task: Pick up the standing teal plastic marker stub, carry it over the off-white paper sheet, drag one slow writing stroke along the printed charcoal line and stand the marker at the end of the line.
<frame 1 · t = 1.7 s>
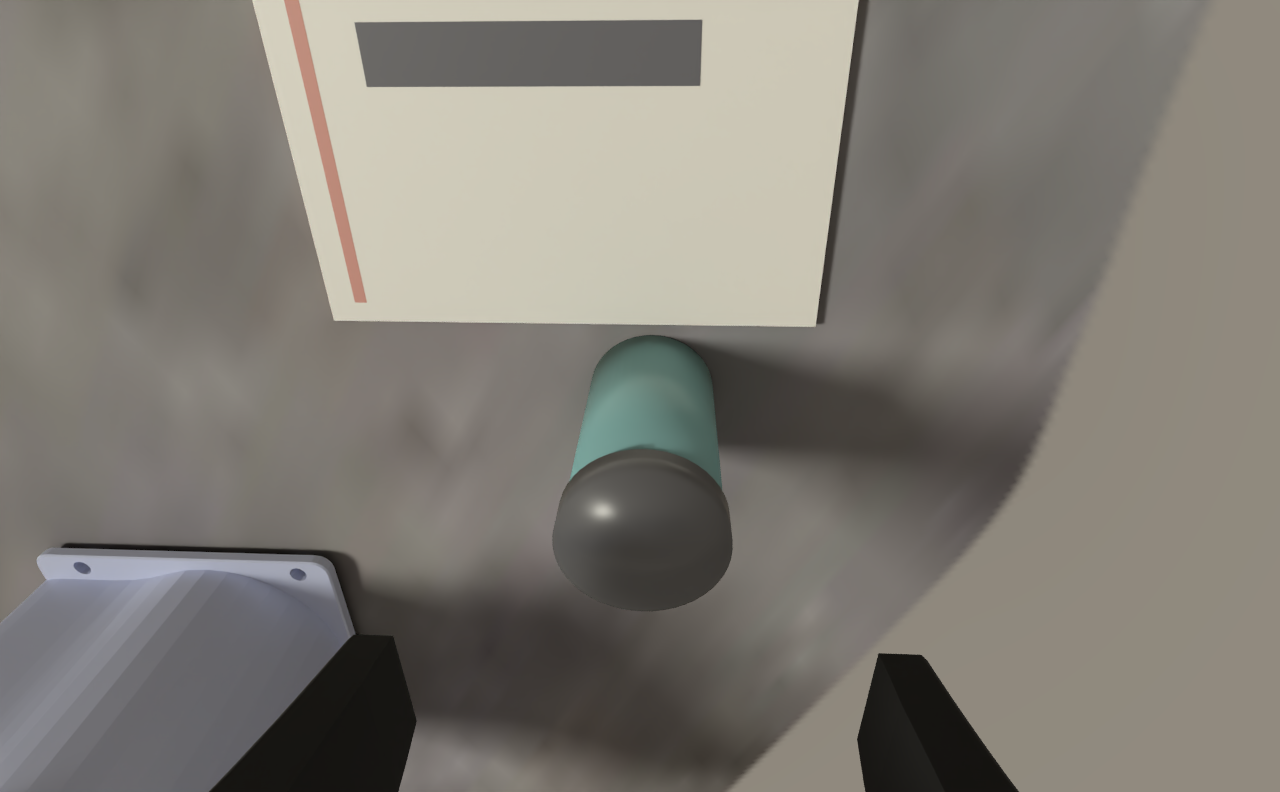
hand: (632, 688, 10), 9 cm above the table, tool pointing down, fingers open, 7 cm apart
paper: (554, 53, 14), on the table
marker: (651, 390, 18), on the table
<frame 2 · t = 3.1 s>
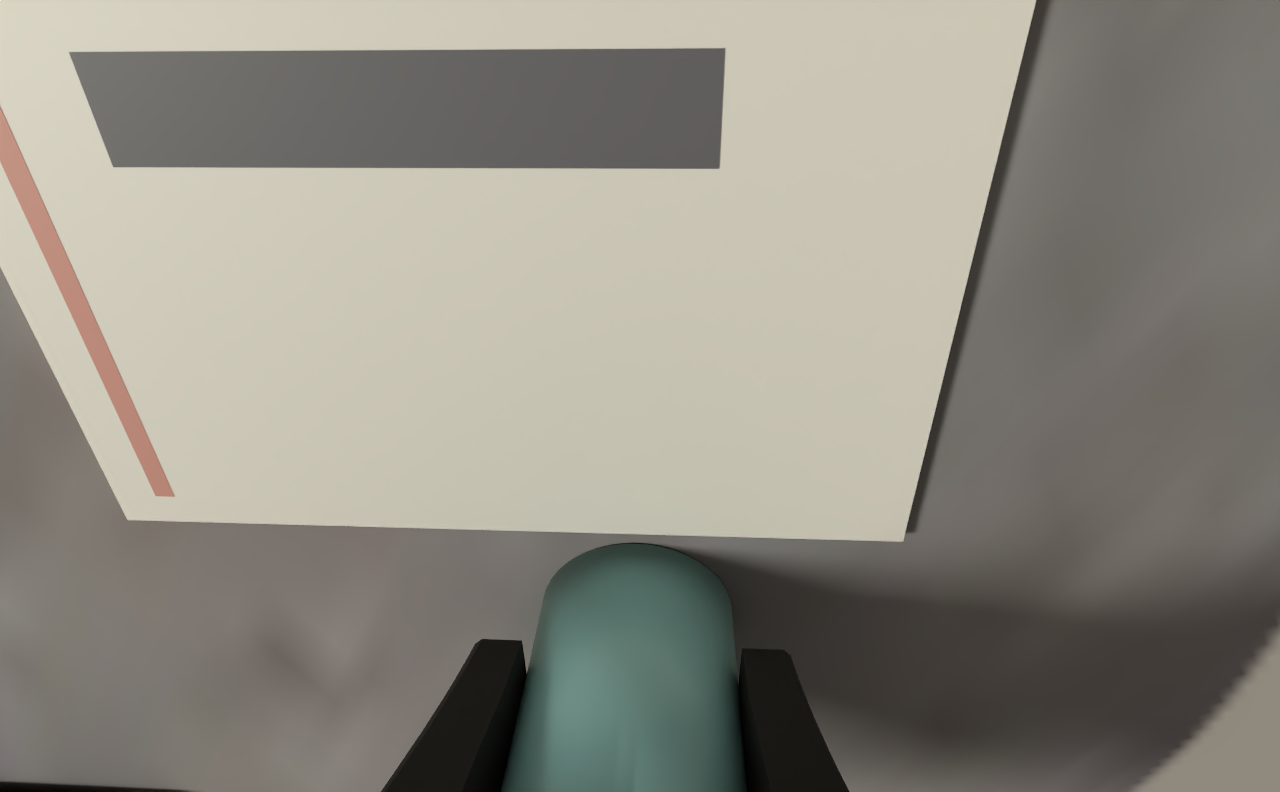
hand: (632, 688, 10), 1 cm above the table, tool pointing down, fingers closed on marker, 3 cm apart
paper: (450, 108, 8), on the table
marker: (637, 614, 12), on the table, touching gripper
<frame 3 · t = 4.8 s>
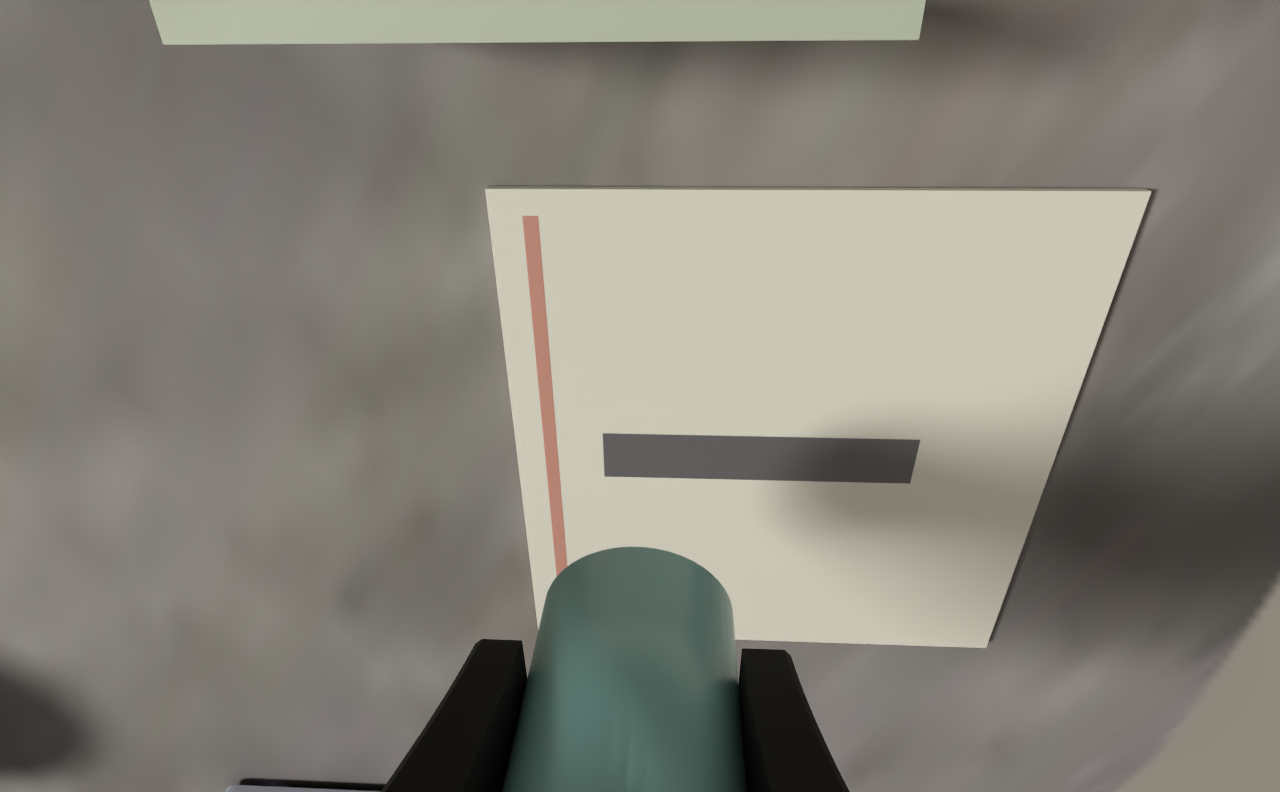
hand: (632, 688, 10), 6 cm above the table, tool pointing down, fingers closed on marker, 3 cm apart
word card: (585, 2, 11), on the table
paper: (778, 453, 16), on the table
marker: (638, 617, 12), point 5 cm above the table, touching gripper
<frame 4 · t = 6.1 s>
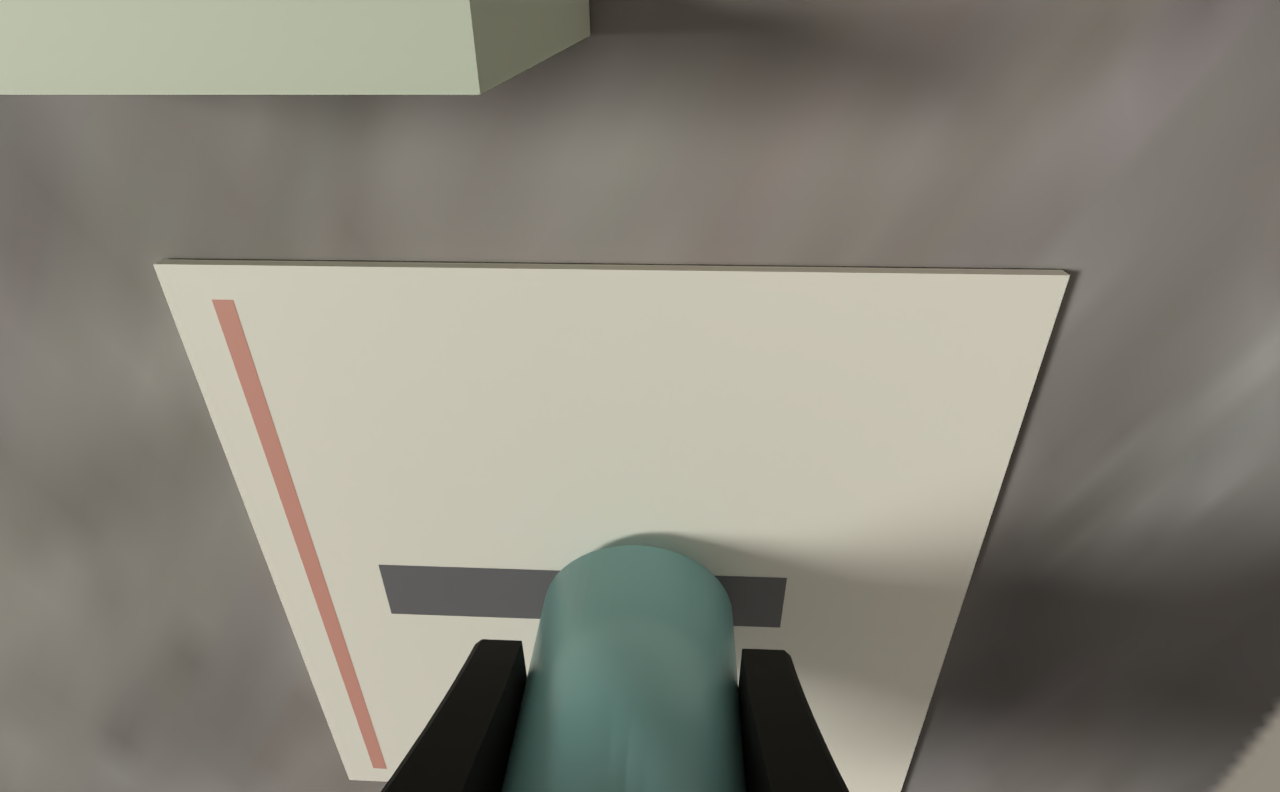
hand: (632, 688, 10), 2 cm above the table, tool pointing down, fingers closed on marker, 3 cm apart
word card: (238, 7, 8), on the table
paper: (611, 588, 12), on the table
marker: (637, 615, 12), point 1 cm above the table, touching gripper
when the fingers open (2 cm above the table, at t = 6.8 s): marker stays where it is, resting on paper.
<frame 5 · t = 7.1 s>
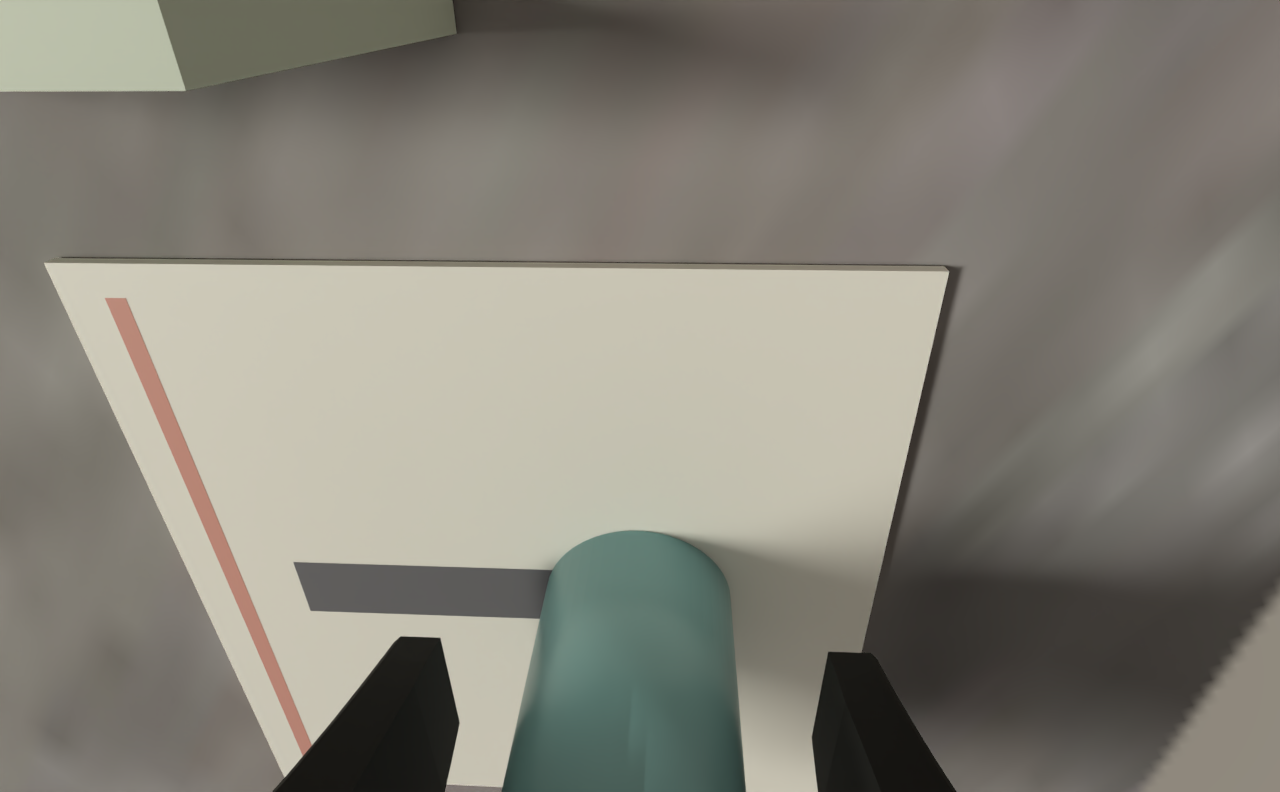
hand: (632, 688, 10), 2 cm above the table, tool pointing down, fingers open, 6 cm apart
word card: (107, 6, 8), on the table
paper: (527, 585, 12), on the table
marker: (638, 600, 12), resting on paper
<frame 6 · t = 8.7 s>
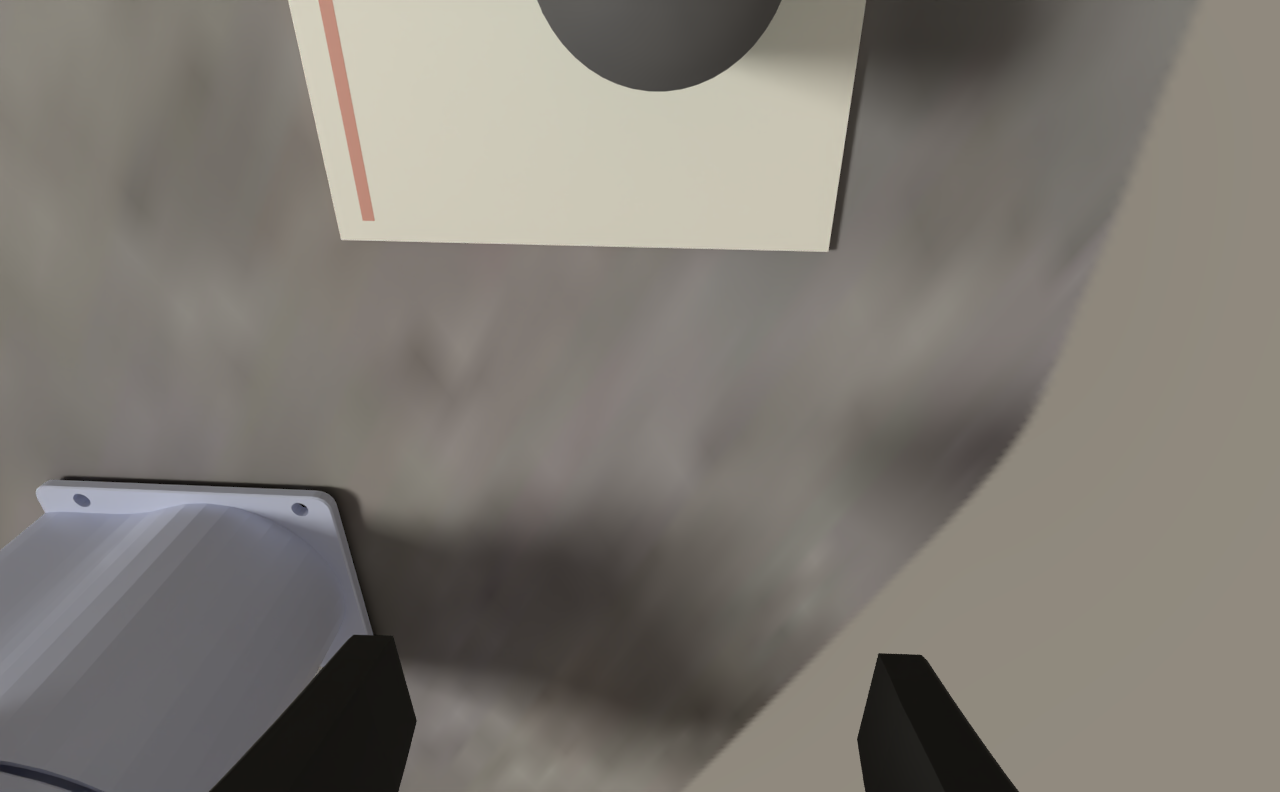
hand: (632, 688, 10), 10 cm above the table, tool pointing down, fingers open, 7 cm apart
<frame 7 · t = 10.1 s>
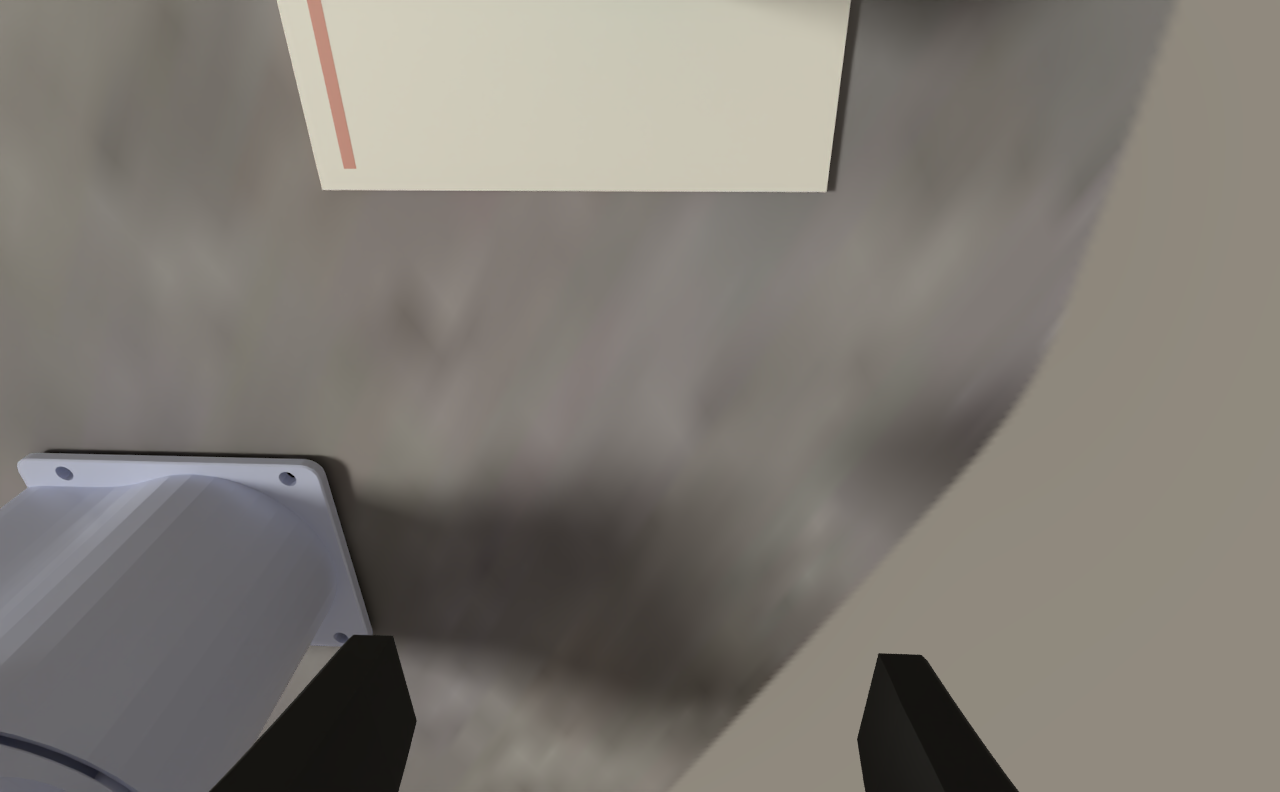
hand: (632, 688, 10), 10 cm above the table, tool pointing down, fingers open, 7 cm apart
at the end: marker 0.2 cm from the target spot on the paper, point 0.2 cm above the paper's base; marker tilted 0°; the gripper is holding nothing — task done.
